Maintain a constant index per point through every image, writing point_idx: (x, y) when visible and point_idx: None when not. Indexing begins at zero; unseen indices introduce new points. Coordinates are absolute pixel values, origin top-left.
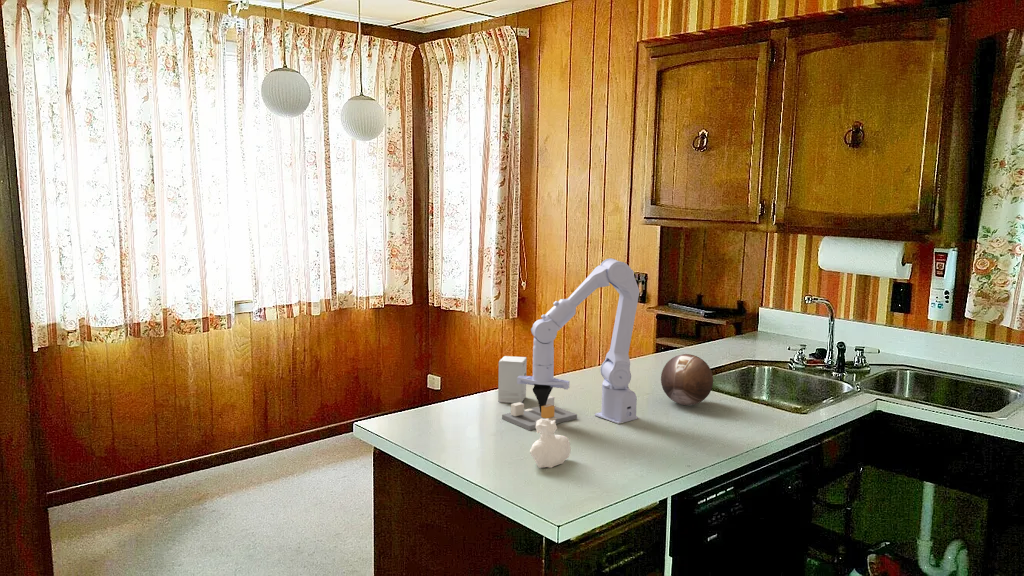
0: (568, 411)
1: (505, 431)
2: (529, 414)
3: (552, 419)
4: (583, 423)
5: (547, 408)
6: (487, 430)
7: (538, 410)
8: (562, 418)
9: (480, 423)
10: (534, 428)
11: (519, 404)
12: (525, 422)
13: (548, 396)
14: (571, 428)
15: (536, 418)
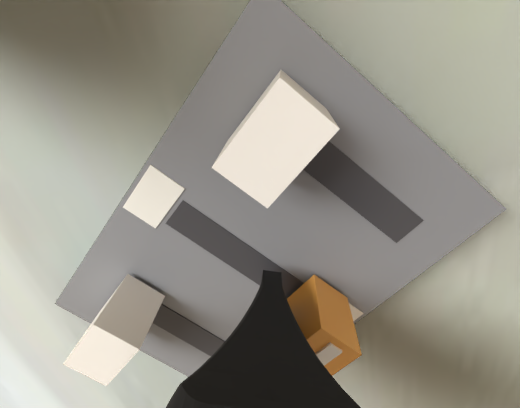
0: (444, 160)
1: (159, 404)
2: (191, 275)
3: None
4: (516, 268)
5: None
6: (92, 405)
7: (221, 191)
8: (396, 289)
9: (20, 351)
10: None
11: (117, 364)
12: None
13: (309, 348)
14: (436, 341)
15: None
